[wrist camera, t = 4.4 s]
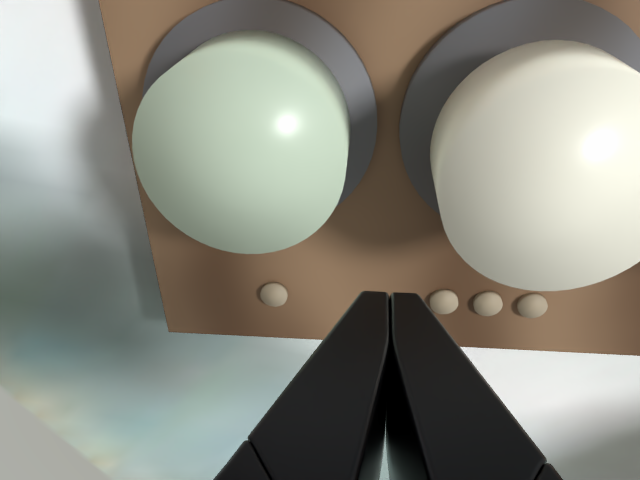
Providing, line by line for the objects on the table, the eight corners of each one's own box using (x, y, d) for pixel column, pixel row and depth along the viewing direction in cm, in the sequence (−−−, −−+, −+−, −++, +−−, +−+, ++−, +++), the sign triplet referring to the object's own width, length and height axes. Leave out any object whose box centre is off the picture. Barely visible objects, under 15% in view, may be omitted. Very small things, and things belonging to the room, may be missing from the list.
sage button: (352, 29, 13) (347, 52, 11) (349, 212, 16) (345, 257, 14) (151, 29, 14) (111, 51, 11) (181, 207, 16) (153, 250, 14)
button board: (1045, -105, 12) (1152, -107, 11) (791, 334, 19) (832, 376, 17) (107, -88, 14) (70, -87, 12) (181, 306, 21) (164, 341, 19)
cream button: (678, 40, 12) (742, 68, 10) (615, 240, 14) (655, 295, 12) (440, 39, 12) (453, 67, 10) (422, 233, 15) (429, 286, 13)
